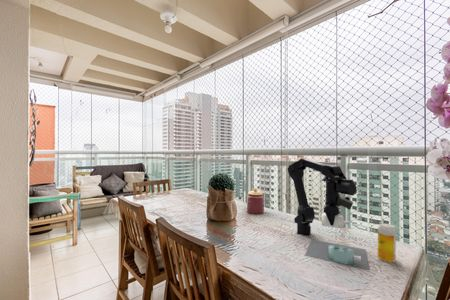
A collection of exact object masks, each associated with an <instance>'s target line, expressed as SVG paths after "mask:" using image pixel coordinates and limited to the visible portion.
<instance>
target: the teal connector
mask: <svg viewBox="0 0 450 300" xmlns="http://www.w3.org/2000/svg"><path fill="white" fill-rule="evenodd" d="M329 259H330V260H332V261H335V262H339V263H344V264H348V265H353V264H354V260H359V261H361V256H356V255H354V250H352V249H350V248H346V247H341V246H336V245H329ZM335 262H334V263H335ZM339 263H338V264H339ZM344 264H343V265H344ZM348 265H347V266H348Z"/></svg>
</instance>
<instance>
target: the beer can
mask: <svg viewBox="0 0 450 300" xmlns="http://www.w3.org/2000/svg"><path fill="white" fill-rule="evenodd" d="M396 231H397V230H396V227H395V225H394V224H391V223H384V222H382V223H379V224H378V226H377V258H378V259H379V260H381V261H383V262H385V263H394V262H396V259H397V258H396V254H397V253H396V252H397V251H396V247H397V242H396V241H397V240H396V239H397V237H396V236H397V232H396Z"/></svg>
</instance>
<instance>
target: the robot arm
mask: <svg viewBox="0 0 450 300" xmlns="http://www.w3.org/2000/svg"><path fill="white" fill-rule="evenodd" d="M307 168H309V169H311V170H314V171H316V172H319V173H321V175H323V176H324V177H323V178H322V180H321V181H322V182H325V205H324V207H323V213H326V215H327V218H328V220H329V222H330V225H332V226H333V224H334V220H335V216H336V215H340V208H341V207H344V208H346V209H347V210H351V209H352V207H353V204H354V202H353V201H352V200H351V198H350V197H349V196H355V195H356V193H357V191H358V190H357V189H358V188H357V185H356V184H355V183H354V179H347V177H346V176H345V174H344V173H343V171H342V169H341V166H339V165H336V164H325V163H322V162H319V161H315V160H313V159H310V158H307V157H305V158H303V157H302V158H300V159H298V160H297V161H295V162H293V163H291V164H289V165H288V167H287V173H288V175H289V177H290V178H291V179H292V181H293V185H294V189H295V194H296V198H297V202H298V209H297V215H296V216H295V217H294V218H293V221H294V223H295V224H296V226H297V227H296V229H297V230H296V231H297V232H296V234H297V235H301V236H306V237H308V236H309V237H310V235H311V234H312V226H311V225H310V224H312V223H314V219H315V216H316V213H315V210H314V206H311V205H310V204H309V202H308V198H307V193H306V190H305V189H306V188H305V185H304V180H303V177H304V174H305V173H304V171H305V170H306V169H307ZM341 194H343V195H348V196H345V197H342V196H341Z"/></svg>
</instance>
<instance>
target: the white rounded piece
mask: <svg viewBox="0 0 450 300" xmlns="http://www.w3.org/2000/svg"><path fill="white" fill-rule="evenodd" d="M321 225H322V226H324V227H328V228H329V227H330V228H336V229H343V228H344V225H350V221H349V220H348V221H347V220H344V216H343V215H341V214H337V215H336V216H335V220H334V224H333V226H332V225H330V222H329V220H328V218H327V215H326V213H324V212H322V213H321Z"/></svg>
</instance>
